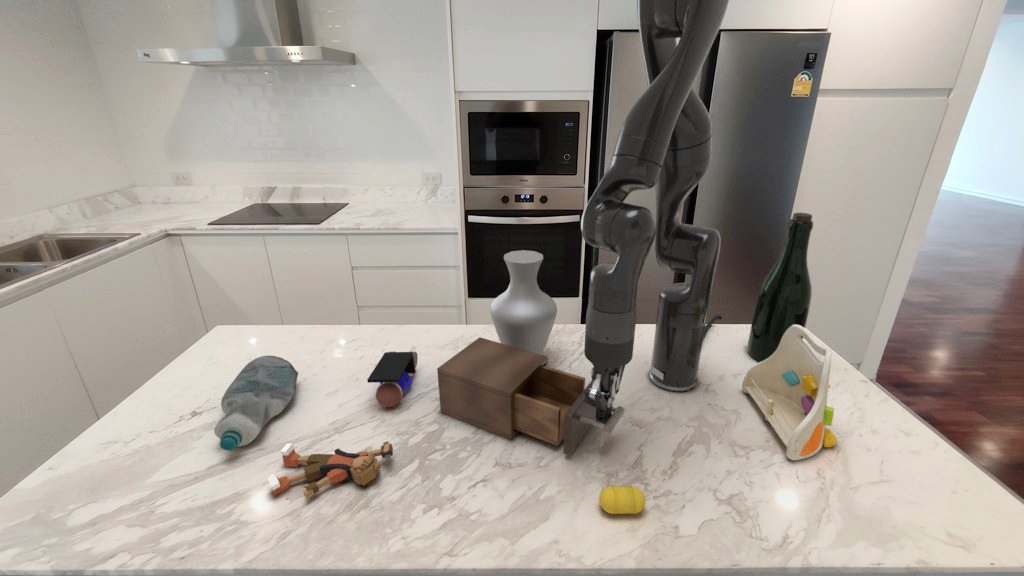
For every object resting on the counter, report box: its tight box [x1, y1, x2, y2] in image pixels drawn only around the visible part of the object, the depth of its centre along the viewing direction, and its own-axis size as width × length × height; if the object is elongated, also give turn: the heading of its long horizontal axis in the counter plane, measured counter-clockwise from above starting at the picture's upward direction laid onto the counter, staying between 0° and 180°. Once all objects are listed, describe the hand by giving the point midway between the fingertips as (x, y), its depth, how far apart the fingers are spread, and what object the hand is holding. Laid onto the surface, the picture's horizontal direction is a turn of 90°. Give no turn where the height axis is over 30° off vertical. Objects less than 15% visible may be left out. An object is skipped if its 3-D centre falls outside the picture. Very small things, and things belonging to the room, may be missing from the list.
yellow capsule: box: [598, 485, 646, 515], centre depth 70 cm, size 7×4×4 cm, turn 90°
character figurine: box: [267, 441, 394, 499], centre depth 76 cm, size 12×5×18 cm
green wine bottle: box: [746, 212, 814, 362], centre depth 103 cm, size 10×10×33 cm
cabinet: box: [436, 336, 549, 441], centre depth 92 cm, size 16×14×10 cm
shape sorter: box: [741, 325, 837, 461], centre depth 84 cm, size 20×10×18 cm, turn 177°
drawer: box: [513, 365, 625, 456], centre depth 85 cm, size 20×13×8 cm, turn 59°
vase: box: [489, 249, 558, 355], centre depth 104 cm, size 14×14×25 cm
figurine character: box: [366, 351, 419, 408], centre depth 98 cm, size 7×8×15 cm
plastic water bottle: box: [213, 355, 299, 451], centre depth 90 cm, size 13×7×25 cm
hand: (603, 420), depth 81 cm, fingers closed
